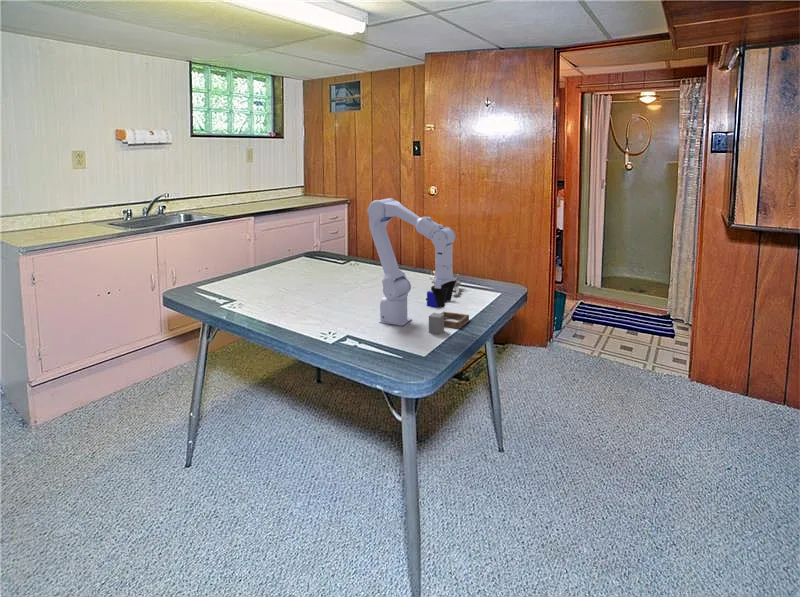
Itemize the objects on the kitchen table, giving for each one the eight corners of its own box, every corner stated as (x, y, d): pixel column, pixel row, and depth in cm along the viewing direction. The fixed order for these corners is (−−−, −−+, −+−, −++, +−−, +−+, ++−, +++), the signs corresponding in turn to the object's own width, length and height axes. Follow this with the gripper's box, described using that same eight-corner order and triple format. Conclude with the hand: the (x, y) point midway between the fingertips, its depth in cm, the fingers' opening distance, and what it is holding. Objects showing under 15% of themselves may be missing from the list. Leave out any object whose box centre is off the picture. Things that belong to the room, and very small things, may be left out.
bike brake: (431, 285, 239) (426, 305, 221) (431, 271, 236) (425, 290, 218) (462, 286, 236) (459, 306, 219) (462, 272, 233) (459, 291, 216)
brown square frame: (432, 324, 190) (432, 319, 189) (443, 316, 199) (443, 311, 198) (459, 328, 186) (459, 323, 185) (468, 320, 194) (469, 314, 194)
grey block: (428, 332, 182) (428, 316, 181) (433, 329, 186) (433, 312, 184) (439, 334, 181) (439, 317, 179) (444, 330, 184) (444, 314, 182)
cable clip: (436, 308, 209) (436, 293, 207) (426, 306, 212) (426, 291, 210) (452, 301, 218) (453, 287, 216) (443, 299, 221) (443, 285, 219)
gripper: (449, 270, 169) (449, 311, 173) (461, 260, 182) (461, 299, 186) (428, 268, 172) (428, 309, 176) (441, 259, 185) (441, 297, 189)
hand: (444, 303), depth 181 cm, fingers open, 7 cm apart
